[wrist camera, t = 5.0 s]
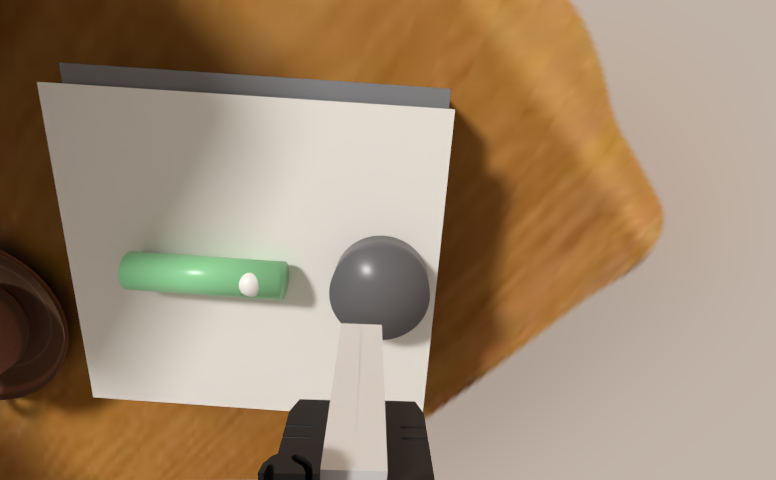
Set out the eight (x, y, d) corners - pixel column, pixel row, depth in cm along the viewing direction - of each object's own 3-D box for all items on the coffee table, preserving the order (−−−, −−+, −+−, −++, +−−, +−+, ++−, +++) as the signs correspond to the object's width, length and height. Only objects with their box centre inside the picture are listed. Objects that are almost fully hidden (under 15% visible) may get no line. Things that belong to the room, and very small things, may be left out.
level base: (144, 358, 31) (112, 393, 28) (107, 68, 25) (58, 62, 21) (414, 370, 32) (418, 406, 28) (440, 90, 26) (451, 88, 22)
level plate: (109, 381, 27) (65, 423, 24) (60, 83, 22) (-6, 79, 18) (420, 403, 27) (424, 448, 24) (451, 108, 22) (461, 109, 18)
